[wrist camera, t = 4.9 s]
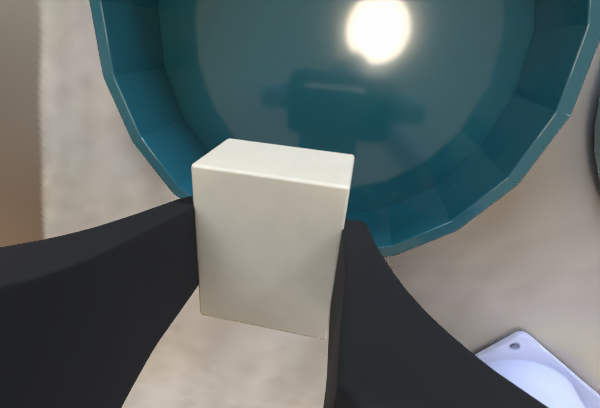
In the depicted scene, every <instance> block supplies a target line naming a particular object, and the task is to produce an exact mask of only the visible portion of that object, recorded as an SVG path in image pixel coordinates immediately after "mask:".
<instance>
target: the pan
mask: <svg viewBox="0 0 600 408" xmlns="http://www.w3.org/2000/svg"><path fill="white" fill-rule="evenodd" d="M89 1H90V6H91V12H92V17H93V23H94V28H95V34H96V39H97V45H98V50H99V56H100V61H101V66H102V72H103V76H104V79H105V81H106V84H107V86H108V88H109V90H110V93H111V95H112V97H113V99H114V101H115V104H116V106H117V108H118V110H119V113H120V115H121V117H122V119H123V121H124V124H125V126H126V128H127V130H128V133H129V135H130V137H131V139H132V141H133V143H134V144H135V145H136V147H137V148H138V149H139V150H140V152H141V153H142V154H143V156H144V157H145V158H146V159H147V161H148V162H149V163H150V165H151V166H152V167H153V168H154V170H155V171H156V172H157V174H158V175H159V176H160V177H161V179H162V180H163V181H164V182H165V184H166V185H167V186H168V188H169V189H170V190H171V191H172V192H173V193H174V194H175V195H176V196H177V197H179V198H180V199H181V198H185V197H188V196H193V186H192V170H191V166H192V164H193V163H195V162H196V161H197V160H199V159H200V158H202V157H203V156H204V155H206V154H207V153H209V152H210V151H211V150H213V149H214V148H216V147H217V146H218V145H220V144H221V143H223V142H224V141H225V140H227V139H229V138H230V139H238V140H245V141H253V142H260V143H268V144H276V145H283V146H291V147H298V148H306V149H314V150H321V151H329V152H336V153H344V154H352V155H354V165H353V172H352V179H351V186H350V192H349V199H348V205H347V212H346V218H345V219H349V220H355V221H361V222H365V223H366V225H367V226H368V228H369V231H370V233H371V235H372V237H373V239H374V241H375V243H376V245H377V247H378V249H379V251H380V252H381V254H382V256H383V257H385V256H394V255H397V254H400V253H402V252H405V251H407V250H410V249H412V248H415V247H417V246H420V245H422V244H425V243H427V242H430V241H432V240H435V239H437V238H440V237H442V236H445V235H447V234H450V233H452V232H455V231H457V229H460V228H461V227H463V226H464V225H465V224H467V223H468V222H469V221H471V220H472V219H473V218H475V217H476V216H477V215H478V214H480V213H481V212H482V211H484V210H485V209H486V208H488V207H489V206H490V205H492V204H493V203H494V202H496V201H497V200H498V199H500V198H501V197H502V196H503V195H505V194H506V193H507V192H509V191H510V190H511V189H513V188H514V187H515V186H517V183H520V181H521V180H522V179H523V177H524V176H525V175H526V173H527V172H528V171H529V169H530V168H531V167H532V166H533V164H534V163H535V162H536V160H537V159H538V158H539V156H540V155H541V154H542V152H543V151H544V150H545V148H546V147H547V146H548V144H549V143H550V142H551V140H552V139H553V138H554V137H555V135H556V134H557V133H558V131H559V130H560V129H561V127H562V126H563V125H564V123H565V122H566V121H567V119H568V118H569V117H570V114H571V113H572V111H573V108H574V105H575V103H576V100H577V98H578V95H579V92H580V90H581V87H582V85H583V82H584V79H585V77H586V74H587V72H588V69H589V66H590V64H591V61H592V59H593V56H594V53H595V51H596V48H597V46H598V43H599V40H600V0H89Z"/></svg>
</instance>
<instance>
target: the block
mask: <svg viewBox="0 0 600 408" xmlns="http://www.w3.org/2000/svg"><path fill="white" fill-rule="evenodd" d="M353 165H354V155H352V154H344V153H336V152H329V151H321V150H314V149H306V148H298V147H291V146H283V145H276V144H268V143H260V142H253V141H245V140H238V139H230V138H229V139H227V140H225V141H224V142H223V143H221V144H220V145H218V146H217V147H216V148H214V149H213V150H211V151H210V152H209V153H207V154H206V155H204V156H203V157H202V158H200V159H199V160H197V161H196V162H195V163H193V164H192V166H191V170H192V186H193V202H194V211H195V227H196V243H197V259H198V275H199V297H200V312H201V314H202V315H206V316H211V317H216V318H221V319H226V320H231V321H236V322H241V323H246V324H251V325H256V326H261V327H266V328H271V329H276V330H281V331H285V332H290V333H295V334H300V335H305V336H310V337H315V338H320V339H326V338H327V335H328V328H329V322H330V306H331V300H332V293H333V287H334V280H335V273H336V267H337V260H338V254H339V247H340V241H341V234H342V230H343V229H344V225H345V218H346V212H347V205H348V199H349V192H350V186H351V179H352V172H353Z"/></svg>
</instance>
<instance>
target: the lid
mask: <svg viewBox="0 0 600 408" xmlns="http://www.w3.org/2000/svg"><path fill="white" fill-rule="evenodd" d="M594 153H595V159H596V166H597V172H598V177H599V180H600V97H599V102H598V108H597V114H596V120H595V137H594Z"/></svg>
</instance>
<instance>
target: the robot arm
mask: <svg viewBox="0 0 600 408" xmlns="http://www.w3.org/2000/svg"><path fill="white" fill-rule="evenodd" d="M198 285H199V275H198V259H197V243H196V227H195V211H194V202H193V196H188V197H185V198H181V199H178V200H175V201H172V202H169V203H166V204H163V205H161V206H158V207H155V208H152V209H149V210H146V211H144V212H141V213H138V214H135V215H132V216H129V217H126V218H123V219H120V220H117V221H113V222H110V223H107V224H104V225H101V226H98V227H94V228H91V229H87V230H83V231H79V232H75V233H71V234H67V235H63V236H59V237H54V238H50V239H45V240H39V241H34V242H28V243H23V244H17V245H12V246H6V247H0V408H121V407H122V405H123V404H124V402H125V400H126V398H127V396H128V394H129V392H130V390H131V388H132V387H133V385H134V383H135V381H136V379H137V378H138V376H139V374H140V372H141V370H142V369H143V367H144V365H145V363H146V362H147V360H148V358H149V356H150V354H151V353H152V351H153V350H154V348H155V346H156V345H157V343H158V342H159V340H160V339H161V337H162V336H163V334H164V333H165V332H166V330H167V329H168V327H169V326H170V325H171V323H172V322H173V320H174V319H175V318H176V316H177V315H178V313H179V312H180V311H181V309H182V308H183V306H184V305H185V304H186V302H187V301H188V299H189V298H190V296H191V295H192V294H193V292H194V291H195V289H196V288H197V286H198ZM513 343H516V344H513ZM511 344H513V345H511ZM323 408H600V395H599V394H598V393H597V392H595V391H594V390H593V389H592V388H591V387H590V386H589V385H587V384H586V383H585V382H584V381H583V380H582V379H580V378H579V377H578V376H577V375H576V374H575V373H573V372H572V371H571V370H570V369H569V368H568V367H566V366H565V365H564V364H563V363H562V362H561V361H559V360H558V359H557V358H556V357H555V356H554V355H552V354H551V353H550V352H549V351H548V350H547V349H545V348H544V347H543V346H542V345H541V344H540V343H538V342H537V341H536V340H535V339H534V338H533V337H532V336H530V335H529V334H528V333H526V332H523V331H517V332H515V333H513V334H511V335H509V336H507V337H506V338H504V339H502V340H500V341H498V342H497V343H495V344H493V345H491V346H489V347H488V348H486V349H484V350H482V351H480V352H479V353H477V354H475V355H474V354H473V353H472V352H470V351H469V350H468V349H466V348H465V347H464V346H463V345H462V344H461V343H459V342H458V341H457V340H456V339H455V338H453V337H452V336H451V335H450V334H449V333H448V332H447V331H446V330H445V329H444V328H442V327H441V326H440V325H439V324H438V323H437V322H436V321H435V320H434V319H433V318H432V317H431V316H430V315H429V314H428V313H427V312H426V311H425V310H424V309H423V308H422V307H421V306H420V305H419V304H418V303H417V302H416V300H415V299H414V298H413V297H412V296H411V295H410V294H409V293H408V291H407V290H406V289H405V288H404V287H403V285H402V284H401V283H400V281H399V280H398V278H397V277H396V276H395V274H394V273H393V271H392V270H391V268H390V267H389V265H388V264H387V262H386V260H385V259H384V257H383V256H382V254H381V252H380V251H379V249H378V247H377V245H376V243H375V241H374V239H373V237H372V235H371V233H370V231H369V228H368V226H367V225H366V223H365V222H361V221H355V220H349V219H345V225H344V229H343V230H342V234H341V241H340V247H339V254H338V260H337V267H336V273H335V280H334V287H333V293H332V300H331V306H330V322H329V344H328V367H327V382H326V393H325V400H324V407H323Z"/></svg>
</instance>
